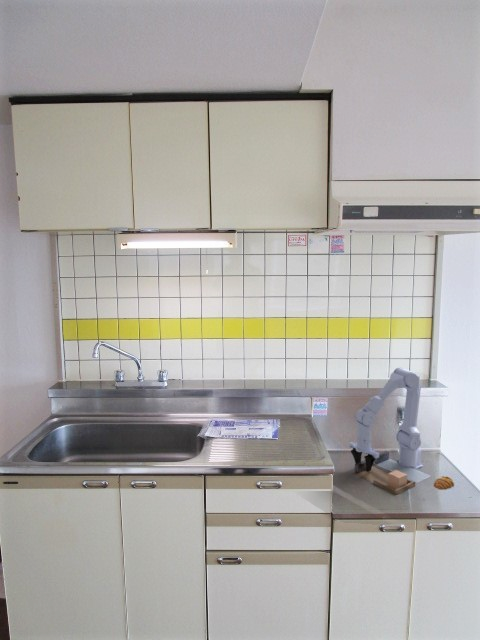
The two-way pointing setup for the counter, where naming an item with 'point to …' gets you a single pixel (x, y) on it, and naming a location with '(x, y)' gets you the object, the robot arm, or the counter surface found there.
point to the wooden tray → (379, 478)
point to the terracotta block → (397, 479)
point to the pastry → (443, 483)
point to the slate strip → (399, 467)
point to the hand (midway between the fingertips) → (363, 468)
